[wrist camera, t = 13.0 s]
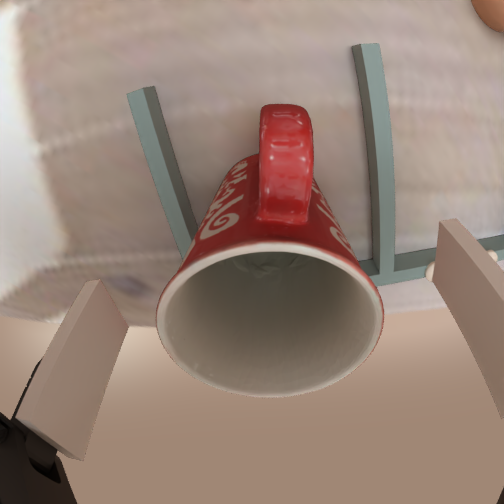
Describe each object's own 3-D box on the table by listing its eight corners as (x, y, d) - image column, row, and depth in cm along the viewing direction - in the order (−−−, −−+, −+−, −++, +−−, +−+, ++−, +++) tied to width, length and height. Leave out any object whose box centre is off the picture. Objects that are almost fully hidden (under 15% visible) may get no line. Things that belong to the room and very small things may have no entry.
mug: (318, 257, 26) (345, 403, 14) (207, 246, 26) (166, 388, 14) (349, 102, 19) (453, 155, 8) (215, 85, 19) (137, 111, 8)
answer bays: (208, 297, 29) (203, 318, 26) (139, 91, 19) (123, 94, 17) (510, 245, 24) (524, 260, 22) (520, 57, 14) (541, 61, 12)
